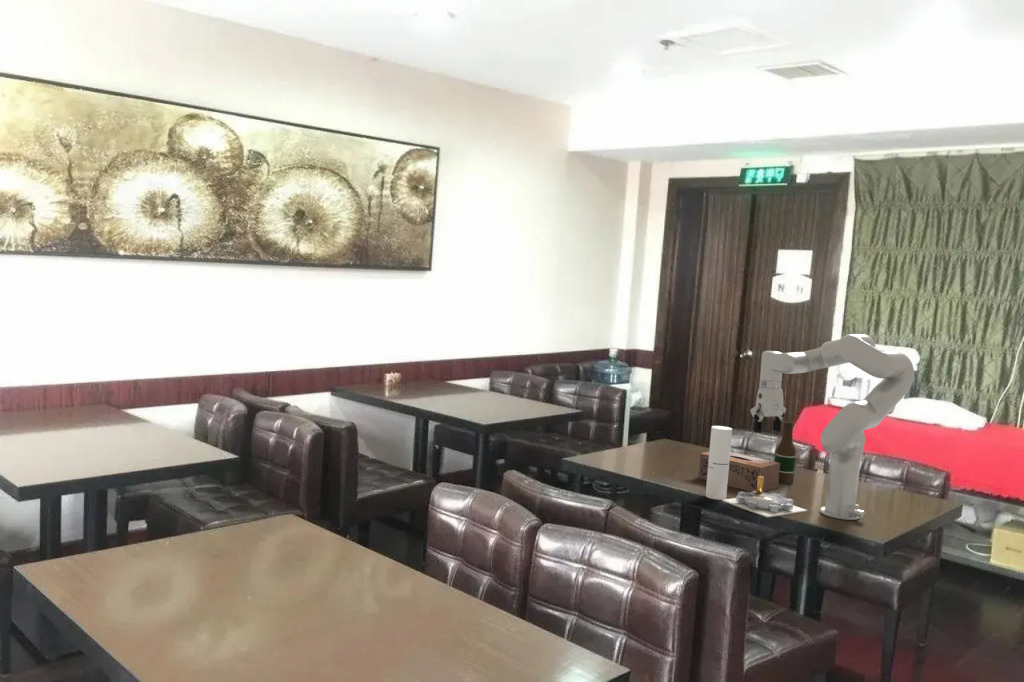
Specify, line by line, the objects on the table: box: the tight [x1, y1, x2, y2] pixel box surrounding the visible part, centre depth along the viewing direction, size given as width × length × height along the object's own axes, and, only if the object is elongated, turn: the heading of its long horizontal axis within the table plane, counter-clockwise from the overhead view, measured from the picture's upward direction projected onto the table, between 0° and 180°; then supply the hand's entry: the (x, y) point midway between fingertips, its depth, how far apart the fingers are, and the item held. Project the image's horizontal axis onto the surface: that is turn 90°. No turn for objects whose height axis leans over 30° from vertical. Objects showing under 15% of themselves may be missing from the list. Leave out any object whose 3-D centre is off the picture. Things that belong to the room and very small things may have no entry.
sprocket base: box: [722, 497, 808, 518], centre depth 285 cm, size 20×20×1 cm
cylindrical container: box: [705, 425, 733, 501], centre depth 292 cm, size 7×7×25 cm
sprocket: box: [735, 476, 795, 512], centre depth 284 cm, size 19×19×8 cm
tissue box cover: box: [698, 451, 780, 493], centre depth 316 cm, size 26×14×10 cm, turn 44°
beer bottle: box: [774, 420, 797, 485], centre depth 322 cm, size 8×8×24 cm
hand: (767, 431), depth 300 cm, fingers open, 9 cm apart
